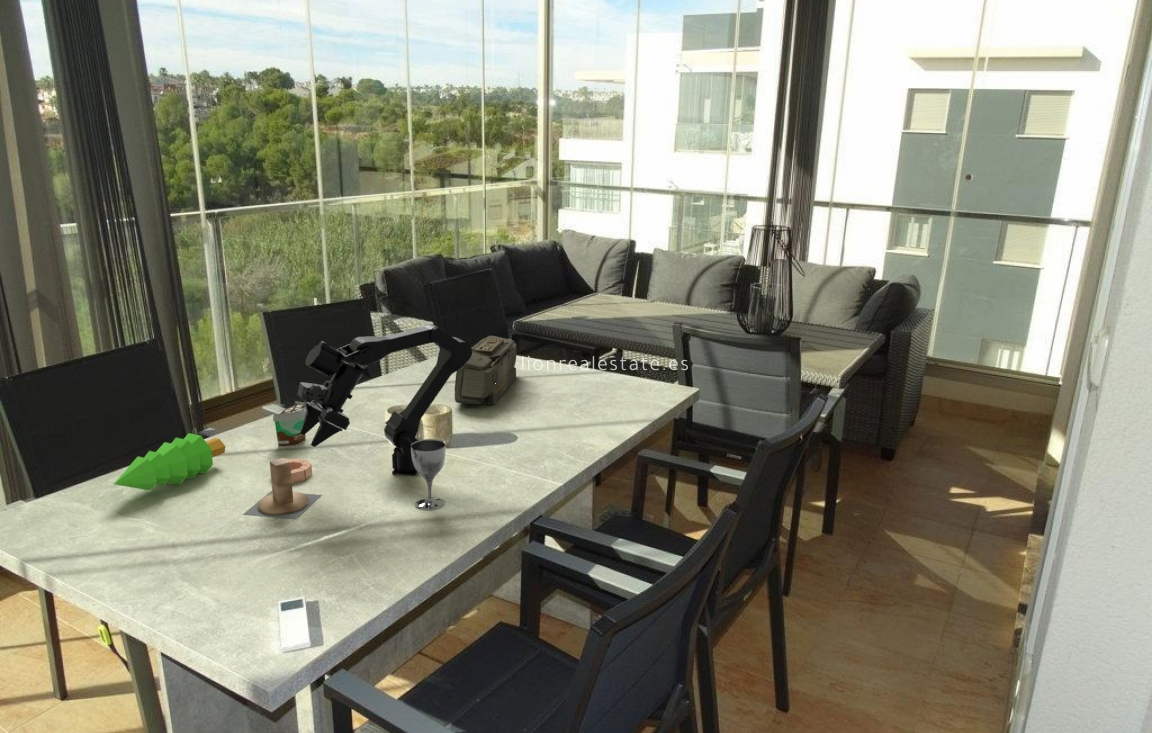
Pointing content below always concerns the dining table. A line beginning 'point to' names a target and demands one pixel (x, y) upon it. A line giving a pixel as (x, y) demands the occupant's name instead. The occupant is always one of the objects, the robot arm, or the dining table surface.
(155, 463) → the decorative tree
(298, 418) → the food container
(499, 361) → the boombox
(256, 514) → the rubber mat
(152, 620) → the dining table surface
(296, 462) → the terracotta bowl
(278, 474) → the walnut lid
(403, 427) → the robot arm
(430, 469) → the wine glass
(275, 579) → the dining table surface
